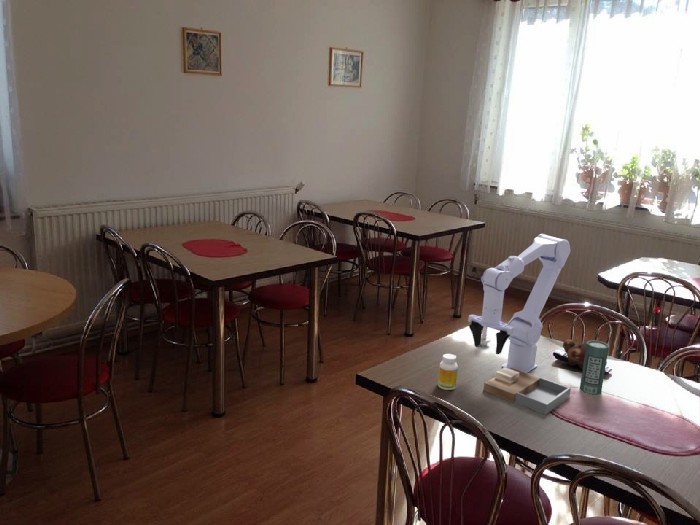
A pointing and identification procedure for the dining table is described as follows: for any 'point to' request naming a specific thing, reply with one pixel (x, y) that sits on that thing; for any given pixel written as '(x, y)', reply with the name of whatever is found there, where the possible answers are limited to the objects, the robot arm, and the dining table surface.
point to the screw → (484, 337)
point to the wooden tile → (507, 375)
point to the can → (594, 367)
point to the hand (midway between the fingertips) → (487, 349)
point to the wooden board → (511, 386)
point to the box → (544, 396)
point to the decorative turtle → (575, 352)
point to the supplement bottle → (448, 372)
